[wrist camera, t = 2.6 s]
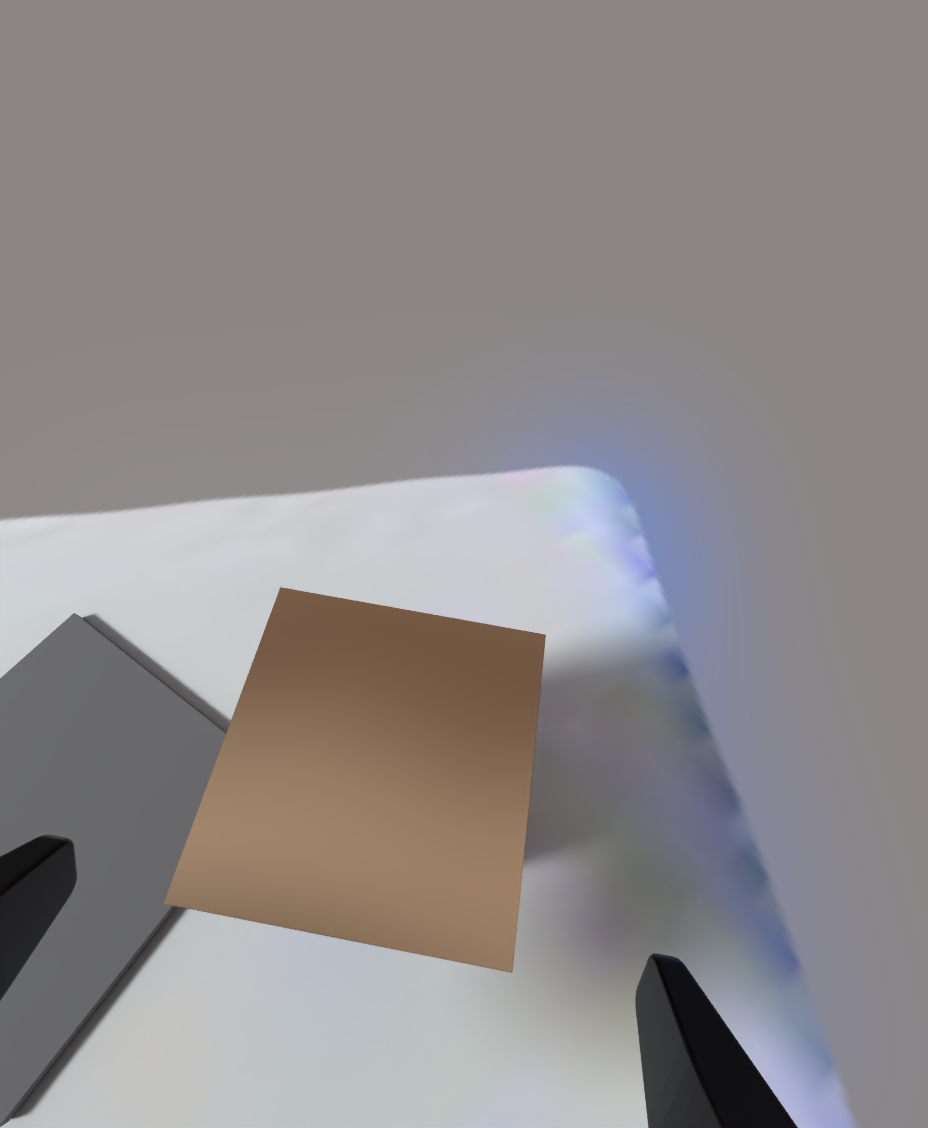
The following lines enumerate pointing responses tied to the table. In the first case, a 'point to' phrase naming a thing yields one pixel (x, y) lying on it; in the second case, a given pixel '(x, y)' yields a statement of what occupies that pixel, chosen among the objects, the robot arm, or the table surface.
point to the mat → (91, 826)
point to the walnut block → (374, 782)
